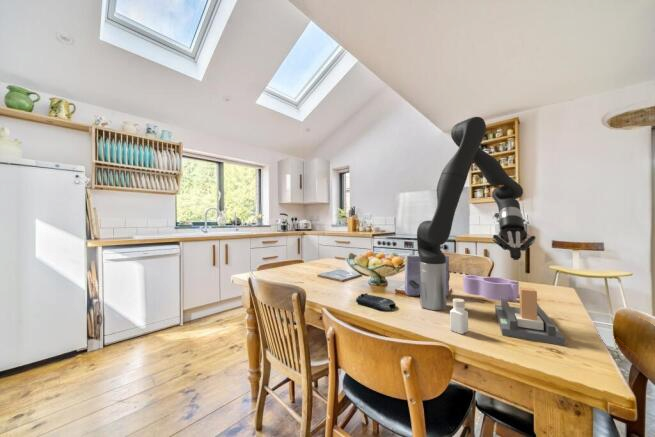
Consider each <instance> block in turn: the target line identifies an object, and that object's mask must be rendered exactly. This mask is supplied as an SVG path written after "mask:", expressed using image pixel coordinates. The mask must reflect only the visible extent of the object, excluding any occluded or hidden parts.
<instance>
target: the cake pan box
mask: <svg viewBox="0 0 655 437" xmlns="http://www.w3.org/2000/svg"><path fill="white" fill-rule="evenodd" d="M445 257H446V297H450V280H451V279H450V278H451V277H450V256H449V255H445ZM404 293H405V294H406V296H409V297H410V296H412V297H413V296H414V297H420V296H419V295H420V256H419V254H404Z"/></svg>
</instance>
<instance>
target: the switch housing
mask: <svg viewBox="0 0 655 437" xmlns="http://www.w3.org/2000/svg"><path fill="white" fill-rule="evenodd" d="M494 312H495V316H496V319H497V321H498V326H499V329H500V332H501V335H502V336H505V337H511V338H517V339H524V340H530V341H534V342H540V343H547V344H553V345H560V346H565V347H566V338H565V336H564V335H563V334H562V333H561V331H560V330H559V328H557V326H556V325H555V324H554V322H553V320H552V319H551V318H550V316H548V314H547V313H546V312H545V310H543V309H542V307H541V306H540V305H539V304H538V303H537V316H539V317H540V318H541V320H542V321H543V326H544V330H537V329H530V328H524V327H517V321H516V319H515V313H519V314H520V307H517V306H510V303H509V302H508V301H507V300H506V299H502V298H501V301H500V305H499V304H495V305H494Z"/></svg>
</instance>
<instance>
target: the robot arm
mask: <svg viewBox="0 0 655 437" xmlns="http://www.w3.org/2000/svg"><path fill="white" fill-rule="evenodd" d="M486 131H487V125H486V121H485V119H483V118H482V117H480V116H473V117H470V118H467V119H465V120H462V121H460V122H458V123H456V124H455V125H453V127H452V129H451V131H450V136H451V139H452V140H453V143H454V144H455V145H456V146H457V147H458V149H457V151H456V152H455V153H454V154H453V156H452V157H451V158H450V160H449V161H448V162H447V163H446V164H445V166H444V167H443V169H442V170H441V171H442V172H441V173H440V176H439V179H438V181H437V186H436V199H437V205H436V210H435V212H434V213H433V214H434V215H433V217H432V219H431V220H425V221H422V222H420V224H419V225H418V227H417V229H416V230H417V231H416V244H417V255H419V256H420V296H419V304H420V306H421V308H422V309H426V310H432V311H443V310H446V309H447V296H446V257H445V256H446V255H445V254H444V253H443V251H442V250H441V248H440V247H441V246H442V245H444V244H445V243H447V241H448V240H449V238H450V235H451V231H452V227H453V222H454V219H455V218H454V217H455V213H456V210H457V207H458V204H459V202H460V198H461V196H462V193H463V190H464V188H465V184H466V182H467V179H468V175H469V172H470V170H471V167H472V165H473V163H474V164H475V166H476V167H477V168H478V170H479V171H480V172H481V174H482V175H483V177H484V179H485V180H486V181H487V183H488V184H489V185H490V186H493V187H496V186H499V187H496V188H495V189H493V190H492V192H491V197H492V199H493V200H494V202H495V203H496V205H497V208H498V226H499V232H498V234H494V235H493V236H492V241H493V242H494V243H495V244H496V245H498V246H499V247H500V248H501V249H502V250H504V251H509V256H510V258H511V259H512V260H514V261H519V259H521V256H522V252H525V251H526V250H527V249H529V248H530V247H531V246H532V245H533V244H534V243H535V240H536V236H534V235H530V234H529V235H528V232H527V231H526V228H525V223H524V217H523V214H522V210H521V205H520V203H519V201H518V200H517V199H520V198H521V197H522V196H523V195H524V189H523V186H522V185H520V183H518V182H517V181H516V180H514V179H513V178H512V177H511V176H510V175H509V174H508V173H507V172H506V171H505V169H504V167H503V166H502V165H501V163H500V161H499V160H497V159H496V158H495V157H494V156H492V155H491V154H489V153H488V152H486V151H485V150H483V149H482V147H481V148H480V146H481V143H482V142H483V140H484V138H485V135H486ZM521 243H522V244H521Z"/></svg>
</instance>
